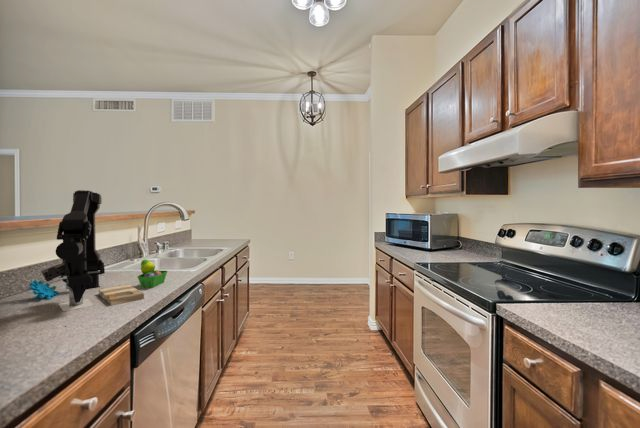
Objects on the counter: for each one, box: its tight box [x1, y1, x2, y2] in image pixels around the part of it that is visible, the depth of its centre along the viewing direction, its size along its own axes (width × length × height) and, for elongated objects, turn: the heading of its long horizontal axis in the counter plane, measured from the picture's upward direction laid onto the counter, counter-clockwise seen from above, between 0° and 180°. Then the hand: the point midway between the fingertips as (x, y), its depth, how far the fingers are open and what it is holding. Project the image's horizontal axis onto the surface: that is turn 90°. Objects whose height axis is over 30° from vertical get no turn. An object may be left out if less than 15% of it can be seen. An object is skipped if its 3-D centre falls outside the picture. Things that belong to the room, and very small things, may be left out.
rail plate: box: [98, 284, 145, 306], centre depth 112 cm, size 18×10×3 cm, turn 47°
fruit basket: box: [136, 259, 168, 288], centre depth 132 cm, size 11×9×11 cm
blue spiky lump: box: [29, 279, 59, 301], centre depth 109 cm, size 11×6×10 cm
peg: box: [65, 284, 84, 306], centre depth 102 cm, size 5×5×7 cm
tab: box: [58, 298, 94, 312], centre depth 102 cm, size 10×8×1 cm
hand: (76, 300), depth 102 cm, fingers closed on peg, 4 cm apart
